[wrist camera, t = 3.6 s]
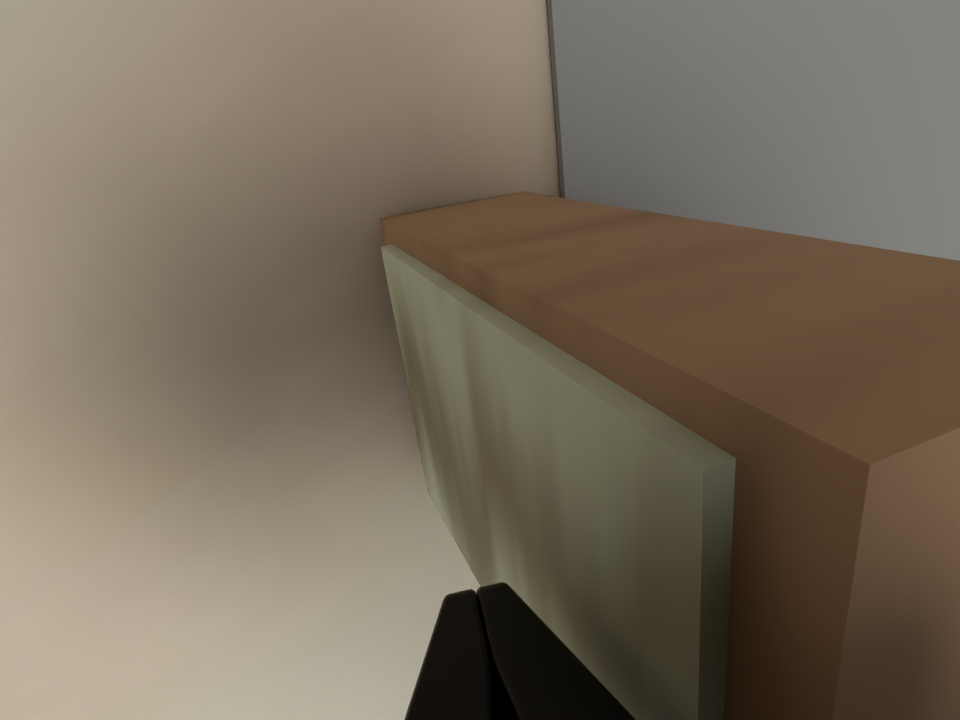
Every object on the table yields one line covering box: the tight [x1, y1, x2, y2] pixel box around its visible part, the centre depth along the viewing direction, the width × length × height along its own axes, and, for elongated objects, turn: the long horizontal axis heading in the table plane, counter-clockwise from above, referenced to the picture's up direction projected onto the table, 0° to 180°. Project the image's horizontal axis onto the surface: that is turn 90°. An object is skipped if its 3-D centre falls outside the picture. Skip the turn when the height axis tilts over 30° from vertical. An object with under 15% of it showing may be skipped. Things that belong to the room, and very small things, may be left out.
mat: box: [547, 0, 960, 261], centre depth 18 cm, size 18×16×1 cm
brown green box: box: [380, 192, 960, 720], centre depth 11 cm, size 8×4×13 cm, turn 8°
